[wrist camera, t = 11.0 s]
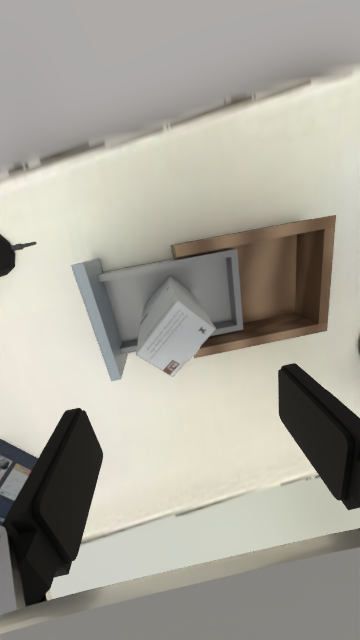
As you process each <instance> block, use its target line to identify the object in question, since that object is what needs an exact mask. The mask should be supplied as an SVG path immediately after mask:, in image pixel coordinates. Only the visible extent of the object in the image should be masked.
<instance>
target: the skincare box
mask: <svg viewBox="0 0 360 640" xmlns="http://www.w3.org/2000/svg"><path fill="white" fill-rule="evenodd" d="M215 329H216V327H215V326H214V325H213V323H212V322H211V320H210V318H209V317H208V315H207V314H206V312H205V311H204V309H203V308H202V306H201V305H200V303H199V302H198V300H197V299H196V297H195V296H194V294H193V293H192V292H191V291H190V290H189V289H187V288H186V287H185V286H184V285H182V284H181V283H180V282H179V281H177V280H176V279H175V278H173V277H172V276H168V277H167V278H166V280H165V281H164V282H163V283H162V284H161V285H160V287H159V288H158V289H157V290H156V292H155V293H154V294H153V296H152V297H151V298H150V300H149V301H148V302H147V304H146V305H145V307H144V308H143V313H142V319H141V325H140V331H139V337H138V344H137V350H136V355H137V356H139V357H140V358H142V359H144V360H145V361H147V362H149V363H150V364H152V365H154V366H155V367H157V368H159V369H160V370H162V371H164V372H165V373H167V374H168V375H170V376H172V377H173V376H175V374H176V373H177V372H178V371H179V370H180V369H181V368H182V366H183V365H184V364H185V363H186V362H187V361H189V360H190V359H191V358H192V357H193V356H194V355H195V354H196V353H197V352H198V350H199V349H200V347H201V345H202V344H203V343H204V342H205V341H206V340H207V339H208V337H209V336H210V335H211V334H212V333H213V332H214V331H215Z"/></svg>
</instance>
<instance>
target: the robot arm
mask: <svg viewBox="0 0 360 640" xmlns="http://www.w3.org/2000/svg"><path fill="white" fill-rule="evenodd" d="M278 383H279V416H280V419H281V421H282V422H283V424H284V425H285V427H286V428H287V430H288V431H289V432H290V434H291V435H292V437H293V438H294V440H295V441H296V443H297V444H298V445H299V447H300V448H301V450H302V451H303V453H304V454H305V456H306V457H307V458H308V460H309V461H310V463H311V464H312V466H313V467H314V469H315V470H316V471H317V473H318V474H319V476H320V477H321V479H322V480H323V481H324V483H325V484H326V485H327V487H328V489H329V490H330V491H331V493H332V494H333V496H334V497H335V498H336V499H337V500H341V501H342V502H343V504H344V505H345V506H346V508H347V509H348V510H351V509H355V508H360V418H359V417H358V416H357V415H355V414H354V413H353V412H352V411H351V410H350V409H348V408H347V407H346V406H345V405H344V404H343V403H342V402H340V401H339V400H338V399H337V398H336V397H335V396H333V395H332V394H331V393H330V392H329V391H327V390H326V389H324V388H323V387H322V386H321V385H320V384H319V383H317V382H316V381H315V380H314V379H313V378H312V377H311V376H309V375H308V374H307V373H306V372H305V371H304V370H303V369H301V368H300V367H299V366H298V365H297V364H289V365H284V366H282V367H281V370H279V371H278ZM102 460H103V452H102V449H101V447H100V444H99V442H98V440H97V437H96V435H95V433H94V430H93V428H92V426H91V423H90V421H89V418H88V416H87V414H86V412H85V411H84V410H83V411H82V410H81V409H80V408H76V409H72V410H67V411H65V413H64V414H63V416H62V418H61V419H60V421H59V423H58V425H57V427H56V428H55V430H54V432H53V434H52V435H51V437H50V439H49V441H48V443H47V444H46V446H45V448H44V450H43V451H42V453H41V455H40V457H39V458H38V460H37V462H36V464H35V466H34V467H33V469H32V471H31V473H30V474H29V476H28V478H27V480H26V482H25V483H24V485H23V487H22V489H21V490H20V492H19V494H18V496H17V497H16V499H15V501H14V503H13V505H12V506H11V508H10V510H9V512H8V513H7V515H6V518H5V520H4V522H3V524H2V525H0V640H360V528H359V529H355V530H349V531H344V532H339V533H334V534H329V535H325V536H321V537H316V538H312V539H307V540H303V541H298V542H293V543H289V544H285V545H280V546H276V547H272V548H267V549H263V550H258V551H253V552H249V553H245V554H241V555H236V556H232V557H228V558H223V559H219V560H214V561H210V562H206V563H201V564H197V565H193V566H188V567H184V568H180V569H175V570H171V571H167V572H163V573H158V574H155V575H151V576H146V577H142V578H137V579H133V580H129V581H125V582H120V583H116V584H112V585H108V586H104V587H99V588H95V589H91V590H87V591H83V592H79V593H75V594H71V595H67V596H64V597H60V598H56V599H52V598H51V594H50V590H49V589H50V588H51V584H52V581H53V578H54V577H58V576H62V575H67V574H69V570H70V567H71V563H72V561H74V560H75V559H76V557H77V554H78V551H79V548H80V544H81V540H82V536H83V532H84V529H85V525H86V521H87V517H88V513H89V509H90V506H91V502H92V498H93V494H94V490H95V487H96V483H97V479H98V475H99V471H100V468H101V464H102Z"/></svg>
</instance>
